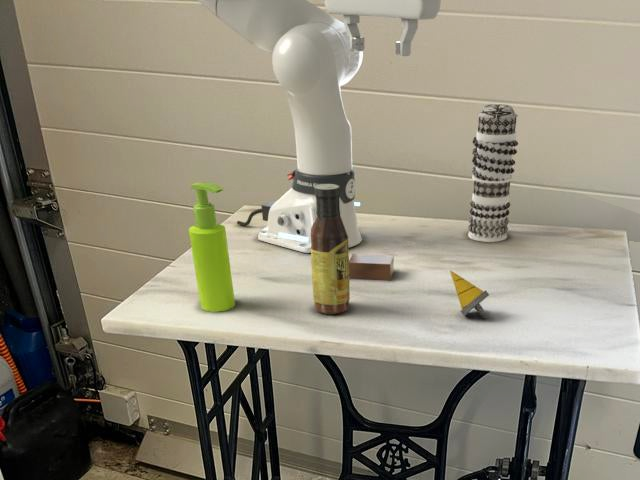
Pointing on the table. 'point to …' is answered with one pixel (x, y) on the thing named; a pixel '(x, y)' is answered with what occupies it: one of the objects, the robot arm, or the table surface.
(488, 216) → the decorative candle
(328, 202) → the sauce bottle
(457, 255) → the table surface
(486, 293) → the yellow tipped cone
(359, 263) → the plywood offcut
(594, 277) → the table surface
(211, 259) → the lime green necked cylinder
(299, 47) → the robot arm
